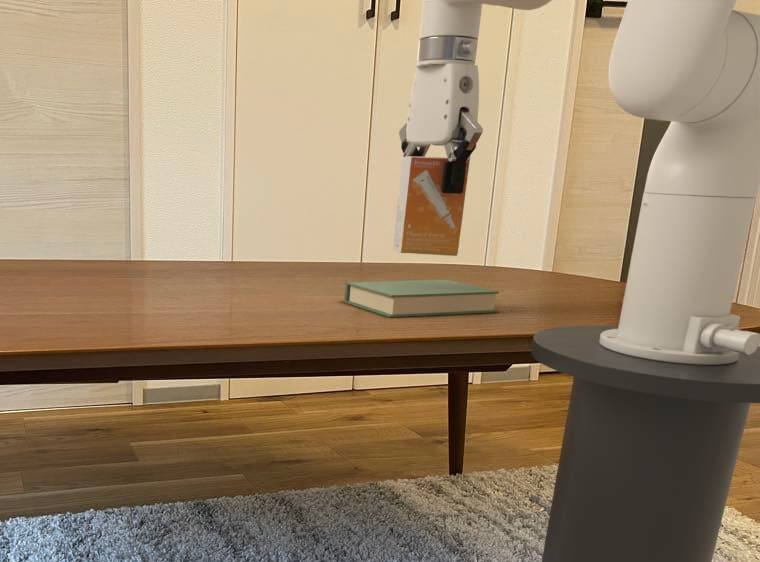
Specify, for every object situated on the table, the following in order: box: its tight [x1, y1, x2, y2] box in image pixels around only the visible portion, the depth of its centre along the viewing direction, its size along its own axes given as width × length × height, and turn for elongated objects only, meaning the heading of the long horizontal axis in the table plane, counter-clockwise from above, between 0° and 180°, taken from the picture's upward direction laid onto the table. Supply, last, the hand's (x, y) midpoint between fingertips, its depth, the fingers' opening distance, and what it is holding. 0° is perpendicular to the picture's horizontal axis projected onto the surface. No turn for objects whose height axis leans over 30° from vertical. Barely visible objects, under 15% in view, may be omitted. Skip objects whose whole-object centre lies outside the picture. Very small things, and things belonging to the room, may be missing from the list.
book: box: [343, 278, 500, 318], centre depth 113 cm, size 12×18×3 cm, turn 112°
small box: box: [392, 156, 470, 257], centre depth 109 cm, size 8×6×13 cm
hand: (431, 191), depth 108 cm, fingers closed on small box, 8 cm apart
